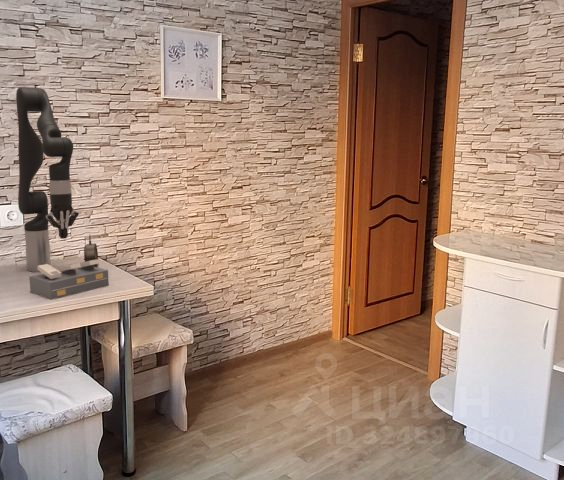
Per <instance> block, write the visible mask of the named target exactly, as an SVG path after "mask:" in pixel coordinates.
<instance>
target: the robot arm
mask: <svg viewBox="0 0 564 480" xmlns="http://www.w3.org/2000/svg"><path fill="white" fill-rule="evenodd" d="M15 94H16V95H15V101H16V103H15V104H16V112H17V113H16V114H17V123H18V124H17V126H18V127H17V129H18V146H17V147H18V168H19V169H18V171H19V172H18V173H19V174H18V175H19V177H18V179H19V181H18V195H17V204H18V209H19V212H20V214H22V215H33V214H36V216H35V217H34V218H32V219H31V220H29V221H26V222H25V223H24V225H23V227H24V239H25V257H26V259H25V260H26V269H27V271H28V272H33V273H34V272H35V273H36V272H37V273H39V272H40V271H38V270H37V269H38V266H39V265H44V264H49V265H50V266H52V265H51V264H52V261H51V249H50V235H49V234H50V233H49V224H50V225H51V226H52V227H53V228H57V229H58V237H59V238H60V239H63V240H64V239H67V238H68V237H69V232H68V228H69V227H72V226H73V225H74V223H75V221H76V220H77V218H78V216H79V215H80V214H79V212H77V211H75V210H74V208H73V205H72V204H73V196H72V183H71V176H70V174H71V173H70V165H71V160H72V158H73V157H72V156H73V153H74V143H73V141H72V140H71V139H70V137H62V132H61V129H60V128H59V125H58V123H57V122H56V120H55V116H54V113H53V109H52V107H51V106H52V105H51V103H50V99H49V96H48V93H47V92H46V90H45V89H44V88H40V87H27V86H20V87H18V88H17V90H16V93H15ZM28 112H31V113H40V115H39V116H38V118H37V121H36V128H37V130H38V133H39V135H40V137H41V138H40V137H39V136H38V134H37V132H36V131H35V129H34V128H33V126H32V125H31V122H30V120H29V115H28V114H29V113H28ZM44 155H45V156H47V157H48V158H61V159H60V160H59V162H56V163H52V164H50V165H49V167H48V175H49V176H48V177H49V199H50V200H48V196H47V193H46V192H45V191H43V190H37V191H36V190H35V191H33V190H32V191H30V188H31V184H32V183H33V182H32V181H33V179H34V178H35V176H36V175H37V173H38V171H39V170H40V169H41V167H42V165H43V162H44ZM49 201H50V202H49ZM49 203H50V204H49ZM49 205H50V209H49ZM49 210H50V211H49ZM54 218H55V219H54ZM40 273H41V272H40Z"/></svg>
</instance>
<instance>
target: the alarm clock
mask: <svg viewBox="0 0 564 480" xmlns="http://www.w3.org/2000/svg"><path fill="white" fill-rule="evenodd" d="M88 234H89V235H88V236H89V239H88V240H89V241H88V242H89V243H86V244H85V245H84V248H83V260H84V262H87V261H90V260H95V259H96V260H97V259H99V254H98V252H99V251H98V246H97V244H96V243H92V240H91V234H90V233H88ZM99 265H100V264H94V265H93V266H94V267H98V268H99Z"/></svg>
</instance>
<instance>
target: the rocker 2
mask: <svg viewBox="0 0 564 480" xmlns="http://www.w3.org/2000/svg"><path fill="white" fill-rule="evenodd" d="M80 263H81V262H75V263H74V262H73V263H70V264H67V265H64V266H63V265H62V266H59V267H57V270H58V271H59V272H60V271H65V270H69V269H74V268H78V267H81V266H80Z"/></svg>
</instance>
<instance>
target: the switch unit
mask: <svg viewBox="0 0 564 480" xmlns="http://www.w3.org/2000/svg"><path fill="white" fill-rule="evenodd" d="M60 272H61V277H58V278H53V279H50V278H49V277H47V276H46V275H44V274H43V273H39V274H33V275H30V276H28V277H29V279H28V280H29V290H30V293H32V294H35V295H37V296H40V297H43V298H45V299H50V300H53V299H58V298H62V297H66V296H70V295H74V294H78V293H82V292H83V293H84V292H87V291H92V290H94V289H99V288H102V287H106V286H107V287H108V286H109V285H110V283H109V270H108V269H106V268H101V267H99V266H98V267H94V266H93V265H89V266H83V267H78V268H74V269H69V270H65V271H60Z"/></svg>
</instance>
